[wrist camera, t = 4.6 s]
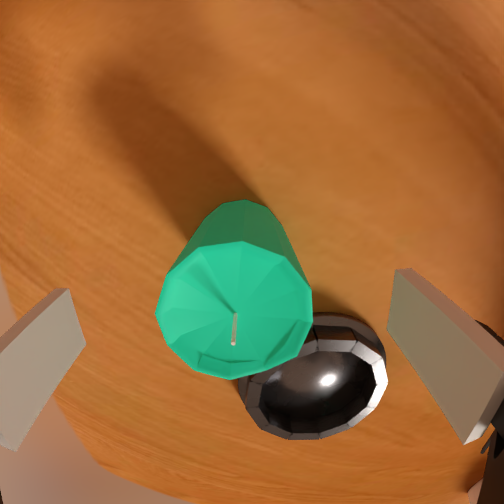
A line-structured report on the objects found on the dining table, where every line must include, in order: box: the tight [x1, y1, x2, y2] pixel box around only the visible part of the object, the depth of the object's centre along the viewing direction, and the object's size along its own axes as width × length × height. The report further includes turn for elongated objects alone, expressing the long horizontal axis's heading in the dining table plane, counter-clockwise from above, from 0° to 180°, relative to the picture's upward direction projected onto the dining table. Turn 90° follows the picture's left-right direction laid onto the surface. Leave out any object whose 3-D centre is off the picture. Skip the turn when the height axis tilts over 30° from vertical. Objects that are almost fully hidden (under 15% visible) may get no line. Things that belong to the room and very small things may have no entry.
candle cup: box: [238, 312, 388, 440], centre depth 23 cm, size 13×13×3 cm
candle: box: [155, 199, 313, 380], centre depth 15 cm, size 6×6×12 cm
